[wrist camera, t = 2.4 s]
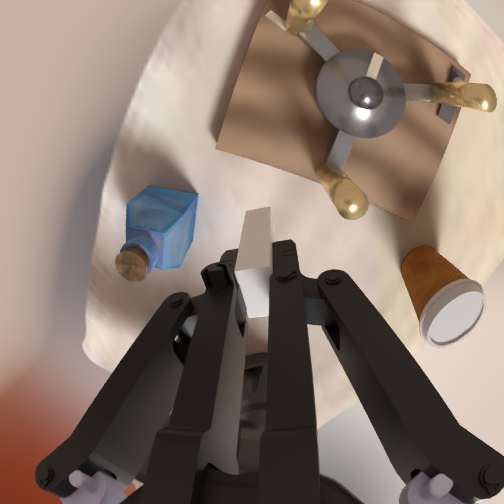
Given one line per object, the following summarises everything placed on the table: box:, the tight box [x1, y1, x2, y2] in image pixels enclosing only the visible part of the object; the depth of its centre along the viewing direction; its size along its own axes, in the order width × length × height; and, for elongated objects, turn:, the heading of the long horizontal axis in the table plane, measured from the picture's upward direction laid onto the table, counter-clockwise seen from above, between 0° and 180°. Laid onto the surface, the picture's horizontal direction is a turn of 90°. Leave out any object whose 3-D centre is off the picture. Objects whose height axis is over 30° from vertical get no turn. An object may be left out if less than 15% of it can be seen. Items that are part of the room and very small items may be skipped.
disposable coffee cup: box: [401, 246, 486, 348], centre depth 30 cm, size 10×10×12 cm
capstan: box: [285, 0, 497, 220], centre depth 20 cm, size 16×18×10 cm
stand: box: [215, 0, 471, 222], centre depth 23 cm, size 21×24×4 cm
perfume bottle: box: [115, 186, 198, 282], centre depth 28 cm, size 6×6×12 cm
